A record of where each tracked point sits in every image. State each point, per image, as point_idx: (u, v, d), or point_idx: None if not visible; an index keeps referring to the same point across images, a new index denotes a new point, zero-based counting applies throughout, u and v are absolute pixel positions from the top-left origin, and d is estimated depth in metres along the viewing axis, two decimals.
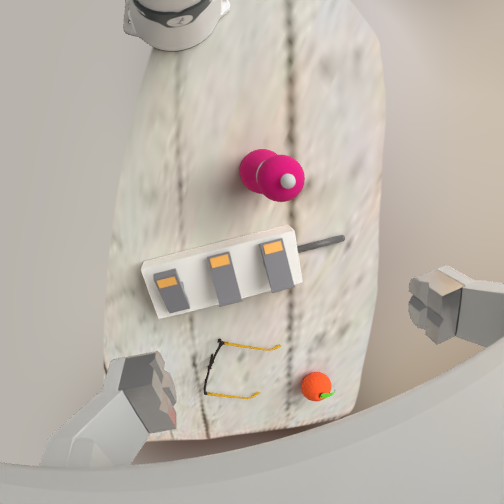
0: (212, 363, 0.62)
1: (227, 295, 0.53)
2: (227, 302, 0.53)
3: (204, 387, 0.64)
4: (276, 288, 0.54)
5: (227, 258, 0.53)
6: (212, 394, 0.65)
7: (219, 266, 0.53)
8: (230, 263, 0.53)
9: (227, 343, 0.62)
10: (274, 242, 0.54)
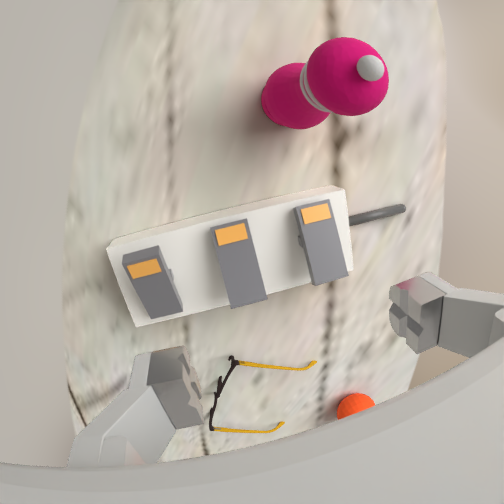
0: (221, 391, 0.42)
1: (243, 290, 0.33)
2: (243, 301, 0.33)
3: (210, 422, 0.43)
4: (321, 278, 0.33)
5: (243, 229, 0.33)
6: (221, 429, 0.45)
7: (230, 242, 0.32)
8: (248, 238, 0.33)
9: (243, 363, 0.41)
10: (318, 205, 0.33)
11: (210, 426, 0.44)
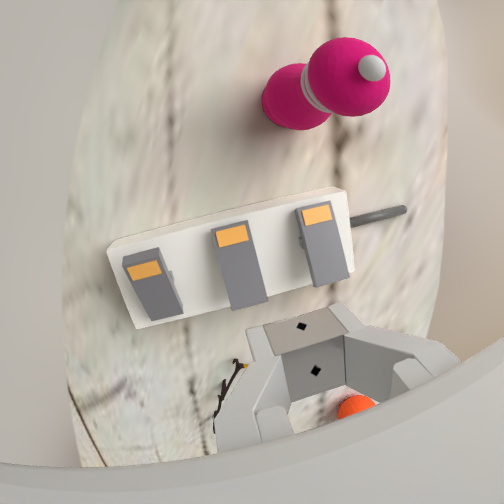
0: (225, 394, 0.42)
1: (244, 292, 0.32)
2: (244, 303, 0.32)
3: (214, 425, 0.43)
4: (322, 280, 0.33)
5: (244, 231, 0.32)
6: None
7: (230, 244, 0.32)
8: (248, 240, 0.32)
9: None
10: (319, 206, 0.33)
11: (214, 429, 0.44)
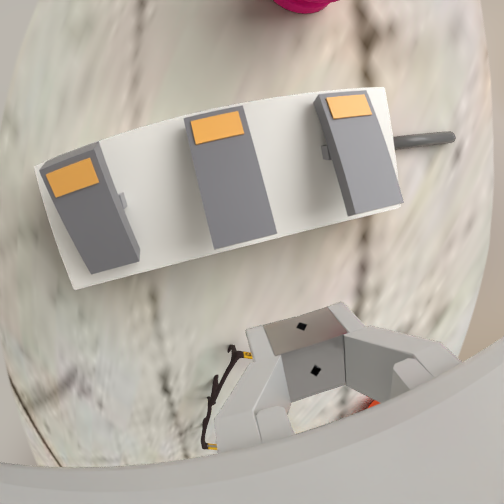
0: (217, 396, 0.29)
1: (236, 217, 0.19)
2: (236, 237, 0.19)
3: (202, 438, 0.30)
4: (364, 203, 0.20)
5: (237, 121, 0.19)
6: None
7: (214, 139, 0.19)
8: (244, 133, 0.19)
9: (249, 355, 0.28)
10: (351, 95, 0.20)
11: (202, 443, 0.31)
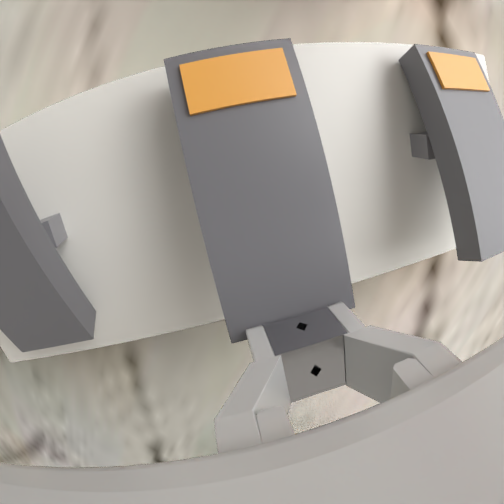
0: None
1: (278, 279, 0.09)
2: (276, 319, 0.09)
3: None
4: (492, 242, 0.09)
5: (281, 68, 0.08)
6: None
7: (232, 104, 0.08)
8: (296, 94, 0.08)
9: None
10: (459, 56, 0.09)
11: None
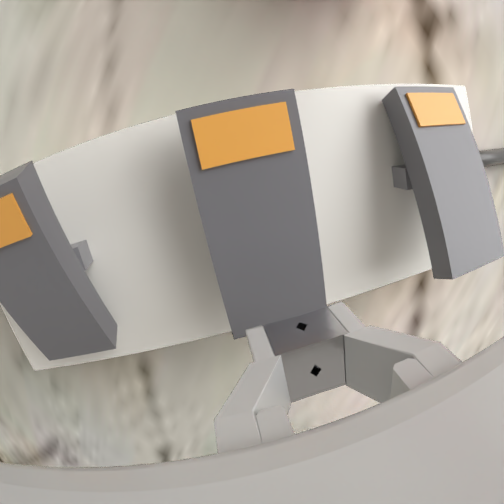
0: None
1: (270, 295, 0.12)
2: (267, 322, 0.12)
3: None
4: (463, 261, 0.11)
5: (283, 122, 0.10)
6: None
7: (239, 160, 0.10)
8: (295, 149, 0.10)
9: None
10: (437, 93, 0.12)
11: None
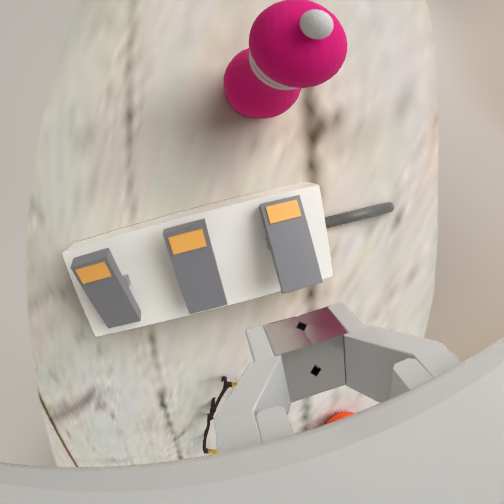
0: None
1: (202, 297, 0.30)
2: (202, 307, 0.30)
3: (203, 444, 0.40)
4: (291, 285, 0.29)
5: (201, 236, 0.28)
6: (216, 452, 0.41)
7: (186, 251, 0.28)
8: (206, 246, 0.28)
9: None
10: (286, 201, 0.30)
11: (204, 449, 0.40)
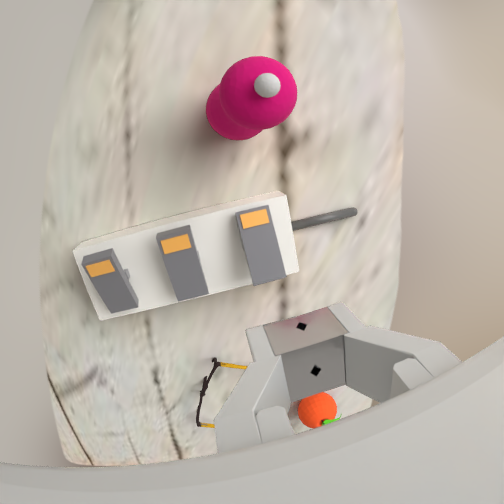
0: (205, 389, 0.46)
1: (188, 288, 0.37)
2: (188, 296, 0.37)
3: (196, 418, 0.48)
4: (259, 279, 0.36)
5: (187, 240, 0.34)
6: (207, 425, 0.49)
7: (174, 251, 0.34)
8: (191, 247, 0.35)
9: (224, 364, 0.45)
10: (257, 210, 0.36)
11: (197, 422, 0.48)
